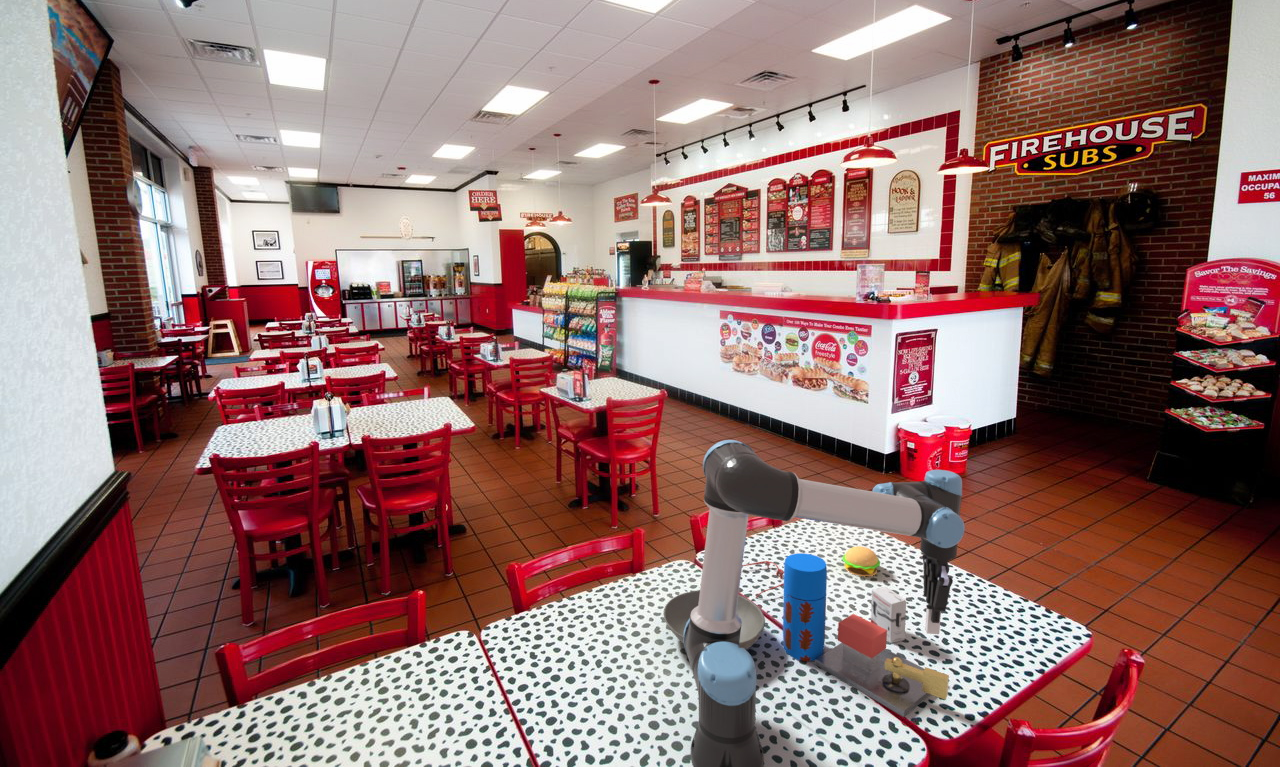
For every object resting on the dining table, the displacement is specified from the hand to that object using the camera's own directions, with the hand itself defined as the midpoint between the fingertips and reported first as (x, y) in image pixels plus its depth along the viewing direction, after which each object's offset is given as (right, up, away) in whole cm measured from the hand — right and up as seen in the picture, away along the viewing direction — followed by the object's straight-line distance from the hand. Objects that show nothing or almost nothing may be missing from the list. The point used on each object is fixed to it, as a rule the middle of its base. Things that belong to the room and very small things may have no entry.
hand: (932, 632), depth 139 cm
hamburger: (+6, -6, +61) cm, 61 cm away
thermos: (-25, -13, +20) cm, 34 cm away
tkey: (-4, -13, 0) cm, 14 cm away
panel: (-9, -14, +9) cm, 19 cm away
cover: (-13, -7, +10) cm, 18 cm away
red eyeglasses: (-29, -8, +53) cm, 62 cm away
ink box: (0, -11, +26) cm, 28 cm away
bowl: (-49, -13, +24) cm, 56 cm away
